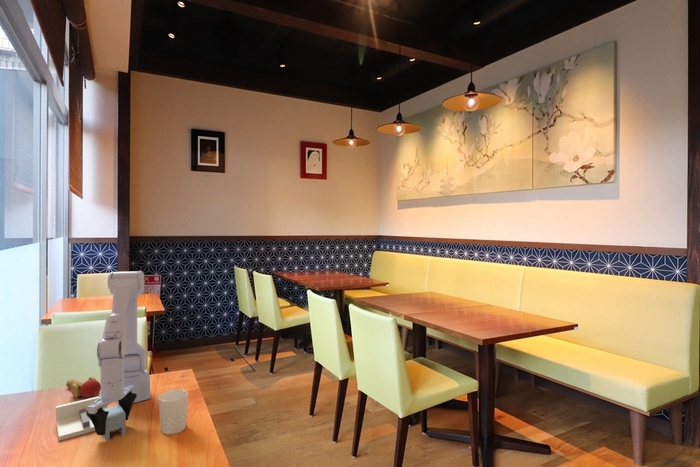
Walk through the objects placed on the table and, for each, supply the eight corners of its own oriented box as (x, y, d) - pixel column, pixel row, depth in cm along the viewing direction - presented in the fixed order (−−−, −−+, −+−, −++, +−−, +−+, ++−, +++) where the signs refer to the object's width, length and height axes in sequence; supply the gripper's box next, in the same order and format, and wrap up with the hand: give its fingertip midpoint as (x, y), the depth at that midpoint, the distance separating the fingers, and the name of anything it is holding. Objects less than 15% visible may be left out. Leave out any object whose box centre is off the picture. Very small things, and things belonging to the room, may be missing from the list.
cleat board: (106, 410, 128) (106, 394, 127) (113, 425, 118) (112, 408, 118) (56, 423, 119) (55, 406, 119) (58, 440, 110) (58, 422, 110)
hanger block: (119, 424, 119) (119, 404, 119) (125, 433, 114) (125, 413, 114) (100, 430, 116) (100, 410, 115) (105, 440, 111) (105, 419, 110)
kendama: (56, 395, 141) (80, 401, 132) (58, 377, 143) (82, 380, 133) (80, 391, 148) (105, 396, 138) (82, 374, 149) (107, 377, 139)
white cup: (194, 424, 119) (193, 391, 119) (174, 438, 112) (174, 402, 111) (173, 420, 122) (172, 387, 121) (152, 433, 114) (152, 398, 114)
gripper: (120, 369, 122) (121, 413, 123) (78, 389, 108) (79, 438, 109) (140, 371, 121) (140, 415, 121) (100, 391, 107) (101, 441, 107)
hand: (113, 426), depth 115 cm, fingers closed on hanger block, 7 cm apart
